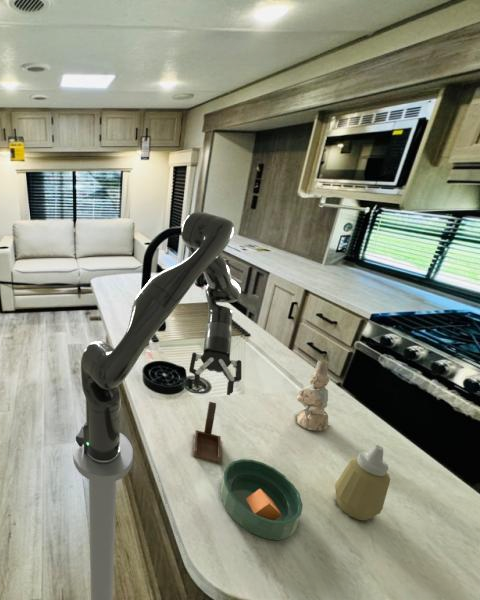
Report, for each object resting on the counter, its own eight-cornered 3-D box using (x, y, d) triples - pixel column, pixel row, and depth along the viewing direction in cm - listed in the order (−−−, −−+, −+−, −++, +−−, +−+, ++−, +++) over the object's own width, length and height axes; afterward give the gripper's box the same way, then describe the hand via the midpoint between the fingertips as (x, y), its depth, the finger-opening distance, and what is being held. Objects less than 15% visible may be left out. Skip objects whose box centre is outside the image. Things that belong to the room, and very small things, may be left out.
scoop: (195, 432, 92) (199, 399, 87) (219, 438, 89) (225, 405, 85) (193, 456, 84) (198, 421, 79) (219, 463, 81) (226, 428, 77)
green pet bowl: (221, 524, 67) (224, 507, 65) (220, 467, 80) (223, 451, 78) (303, 553, 62) (310, 535, 60) (288, 487, 75) (293, 470, 73)
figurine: (306, 409, 99) (323, 356, 92) (334, 428, 92) (355, 371, 84) (286, 417, 96) (302, 362, 89) (314, 437, 89) (334, 379, 81)
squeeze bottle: (325, 486, 75) (347, 428, 68) (367, 497, 72) (394, 438, 66) (337, 518, 68) (363, 457, 61) (384, 532, 65) (416, 470, 59)
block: (260, 488, 68) (269, 503, 65) (271, 499, 69) (282, 515, 65) (245, 498, 69) (254, 514, 65) (257, 510, 70) (266, 526, 66)
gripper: (194, 331, 96) (187, 384, 90) (245, 339, 91) (241, 395, 85) (193, 339, 102) (186, 388, 97) (241, 346, 97) (237, 398, 92)
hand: (212, 391), depth 91 cm, fingers open, 8 cm apart
